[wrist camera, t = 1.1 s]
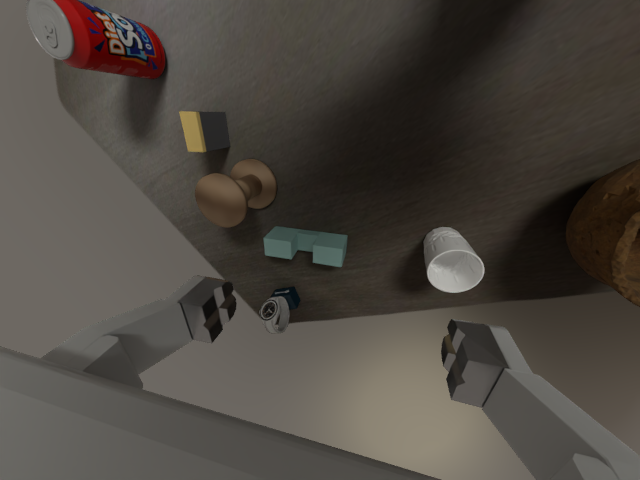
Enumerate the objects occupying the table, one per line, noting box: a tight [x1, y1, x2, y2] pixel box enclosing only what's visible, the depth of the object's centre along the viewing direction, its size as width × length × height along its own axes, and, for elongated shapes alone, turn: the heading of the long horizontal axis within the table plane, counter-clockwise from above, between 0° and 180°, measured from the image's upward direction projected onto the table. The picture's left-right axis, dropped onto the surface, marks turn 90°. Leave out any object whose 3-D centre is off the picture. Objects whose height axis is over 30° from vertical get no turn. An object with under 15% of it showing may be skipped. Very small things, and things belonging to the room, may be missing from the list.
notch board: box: [264, 226, 348, 267], centre depth 50 cm, size 4×16×6 cm, turn 89°
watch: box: [259, 287, 300, 333], centre depth 57 cm, size 6×8×11 cm
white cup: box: [423, 227, 484, 293], centre depth 41 cm, size 8×8×10 cm
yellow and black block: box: [179, 111, 230, 152], centre depth 43 cm, size 6×3×8 cm, turn 179°
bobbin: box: [195, 159, 277, 227], centre depth 44 cm, size 10×10×12 cm
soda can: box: [26, 0, 165, 79], centre depth 37 cm, size 8×8×15 cm
